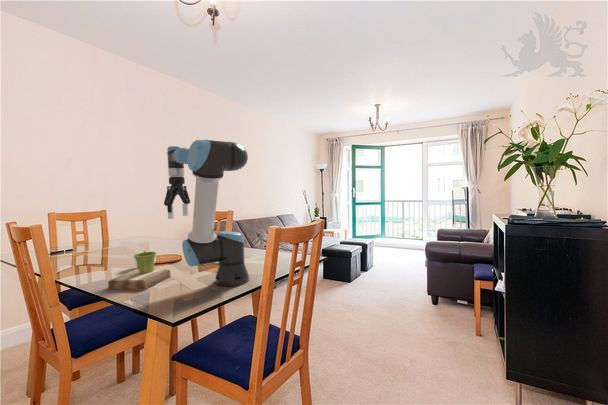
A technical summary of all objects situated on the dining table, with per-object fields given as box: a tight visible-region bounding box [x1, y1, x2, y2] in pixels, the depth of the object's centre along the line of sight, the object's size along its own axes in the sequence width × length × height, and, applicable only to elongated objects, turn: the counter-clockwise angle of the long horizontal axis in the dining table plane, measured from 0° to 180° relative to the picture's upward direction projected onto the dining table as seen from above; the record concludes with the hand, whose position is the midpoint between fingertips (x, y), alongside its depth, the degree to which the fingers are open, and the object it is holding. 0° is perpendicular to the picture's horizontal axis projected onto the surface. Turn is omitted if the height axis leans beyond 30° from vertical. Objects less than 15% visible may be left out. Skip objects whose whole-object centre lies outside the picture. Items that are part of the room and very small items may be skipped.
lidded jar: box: [133, 250, 157, 268], centre depth 159 cm, size 11×11×9 cm
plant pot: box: [133, 251, 157, 273], centre depth 137 cm, size 9×9×9 cm
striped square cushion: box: [107, 268, 171, 291], centre depth 134 cm, size 18×18×4 cm
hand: (178, 217), depth 150 cm, fingers open, 13 cm apart
